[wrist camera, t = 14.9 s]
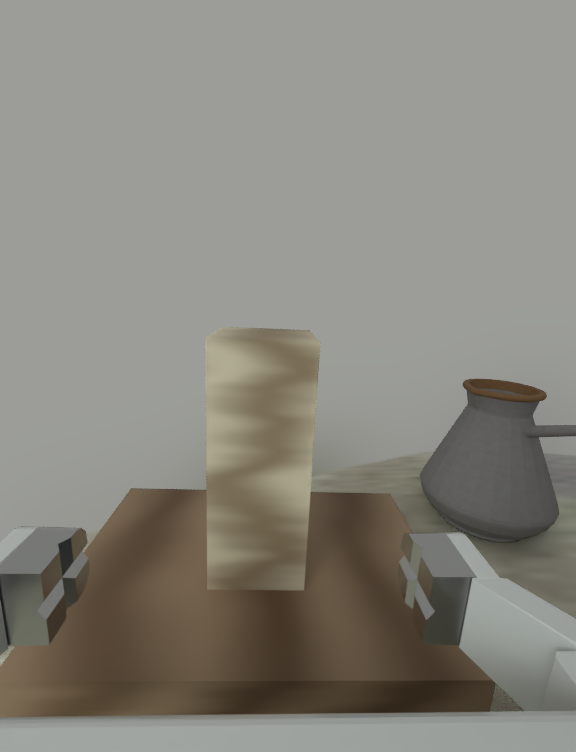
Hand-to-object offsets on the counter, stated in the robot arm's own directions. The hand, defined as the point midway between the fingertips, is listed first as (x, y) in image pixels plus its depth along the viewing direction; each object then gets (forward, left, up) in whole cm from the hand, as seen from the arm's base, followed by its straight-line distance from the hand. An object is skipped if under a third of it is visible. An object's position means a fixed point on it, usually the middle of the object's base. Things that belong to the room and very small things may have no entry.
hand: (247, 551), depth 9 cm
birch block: (0, +10, -8) cm, 13 cm away
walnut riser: (0, +10, -13) cm, 17 cm away
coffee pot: (+23, +17, -14) cm, 32 cm away
